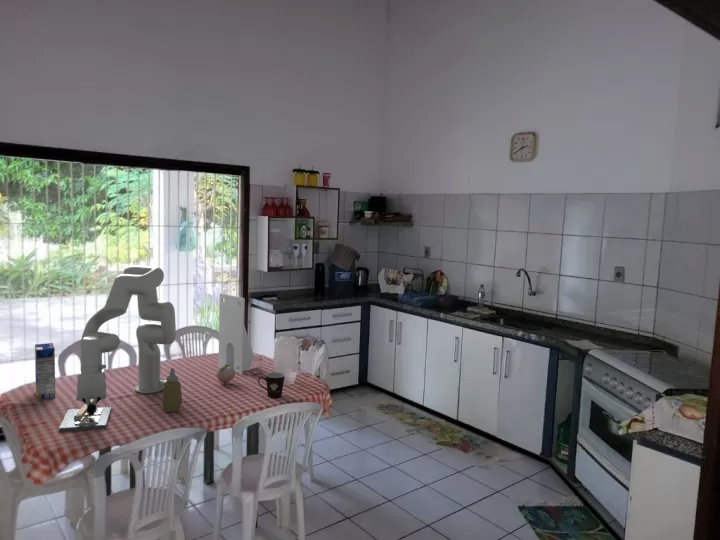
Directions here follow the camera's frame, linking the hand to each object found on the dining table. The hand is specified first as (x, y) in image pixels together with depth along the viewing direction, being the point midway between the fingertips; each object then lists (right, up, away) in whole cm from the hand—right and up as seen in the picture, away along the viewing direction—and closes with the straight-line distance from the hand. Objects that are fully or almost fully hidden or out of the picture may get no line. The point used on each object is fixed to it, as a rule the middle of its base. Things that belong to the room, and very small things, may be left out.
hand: (91, 413), depth 220 cm
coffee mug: (+64, -2, +41) cm, 76 cm away
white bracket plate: (+41, +3, +82) cm, 92 cm away
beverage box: (-34, +1, +28) cm, 44 cm away
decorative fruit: (+40, +1, +54) cm, 67 cm away
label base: (-3, -3, +3) cm, 5 cm away
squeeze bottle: (+26, -3, +16) cm, 31 cm away
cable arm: (-3, +1, +2) cm, 4 cm away
